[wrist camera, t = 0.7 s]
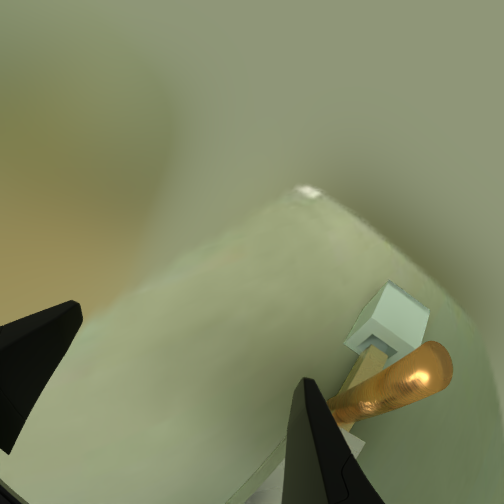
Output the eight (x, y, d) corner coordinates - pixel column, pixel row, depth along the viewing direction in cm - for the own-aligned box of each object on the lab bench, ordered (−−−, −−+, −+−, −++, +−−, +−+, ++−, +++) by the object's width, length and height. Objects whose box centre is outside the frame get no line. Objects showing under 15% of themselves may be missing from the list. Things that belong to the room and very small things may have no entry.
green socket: (384, 372, 25) (418, 351, 20) (343, 343, 27) (371, 317, 22) (400, 335, 28) (430, 310, 24) (362, 308, 30) (388, 279, 25)
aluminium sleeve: (256, 543, 12) (268, 562, 8) (209, 517, 14) (210, 533, 10) (339, 445, 19) (365, 442, 16) (298, 419, 21) (318, 413, 17)
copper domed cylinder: (264, 528, 13) (326, 591, 3) (234, 512, 14) (270, 576, 4) (377, 366, 24) (465, 300, 14) (356, 351, 25) (437, 277, 15)
